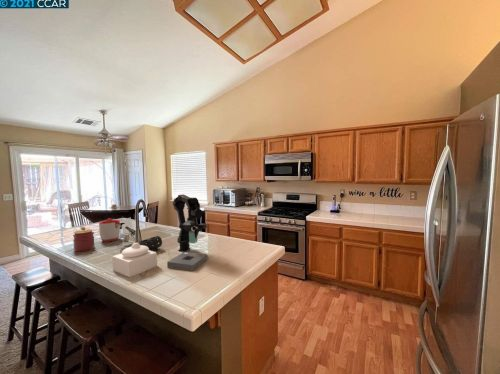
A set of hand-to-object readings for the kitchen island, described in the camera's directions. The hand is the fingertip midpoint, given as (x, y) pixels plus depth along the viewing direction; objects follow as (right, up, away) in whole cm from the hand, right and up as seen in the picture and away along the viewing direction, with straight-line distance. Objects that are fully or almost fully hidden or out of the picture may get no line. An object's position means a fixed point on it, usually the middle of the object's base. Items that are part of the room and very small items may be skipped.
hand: (193, 238), depth 151 cm
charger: (0, -3, 0) cm, 3 cm away
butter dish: (-31, -15, -18) cm, 38 cm away
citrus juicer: (-83, -12, +41) cm, 94 cm away
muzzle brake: (-38, -13, +5) cm, 40 cm away
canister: (-89, -13, +18) cm, 92 cm away
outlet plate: (0, -13, -11) cm, 18 cm away
